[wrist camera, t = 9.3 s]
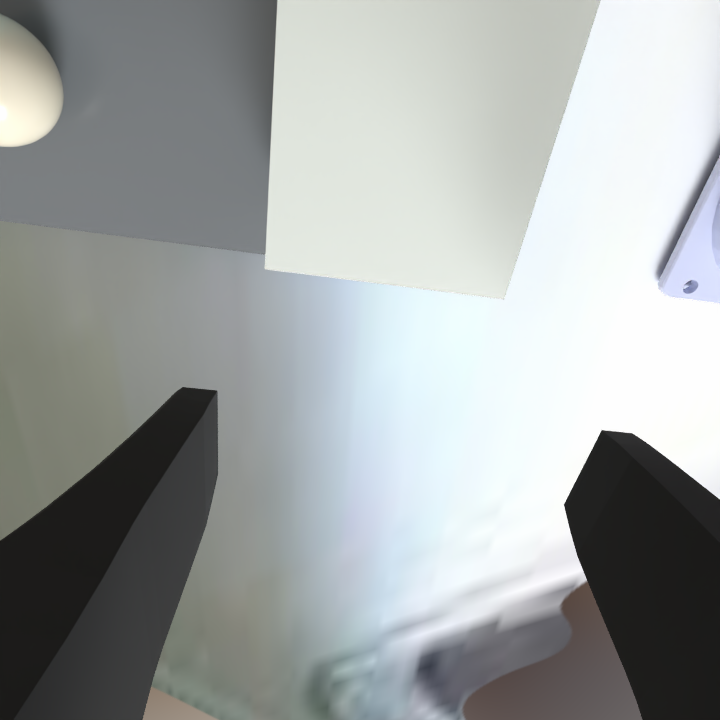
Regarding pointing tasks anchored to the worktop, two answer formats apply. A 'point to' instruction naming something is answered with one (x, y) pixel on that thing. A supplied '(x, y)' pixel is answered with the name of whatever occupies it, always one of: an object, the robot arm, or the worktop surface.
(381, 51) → the white box
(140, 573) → the robot arm
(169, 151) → the board
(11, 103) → the marble
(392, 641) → the worktop surface
